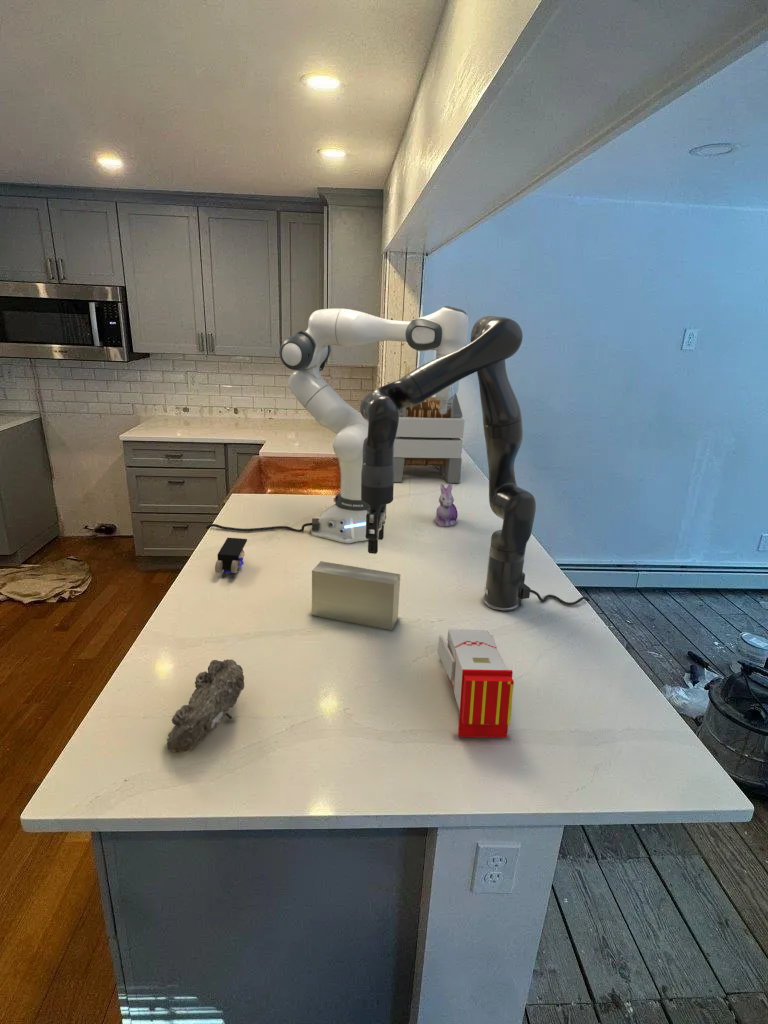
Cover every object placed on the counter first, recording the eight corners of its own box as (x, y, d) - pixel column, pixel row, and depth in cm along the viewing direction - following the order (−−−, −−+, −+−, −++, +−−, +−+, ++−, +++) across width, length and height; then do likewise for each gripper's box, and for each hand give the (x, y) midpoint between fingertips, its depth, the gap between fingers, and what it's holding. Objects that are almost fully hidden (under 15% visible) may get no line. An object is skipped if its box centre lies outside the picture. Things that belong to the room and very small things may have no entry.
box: (311, 615, 145) (311, 570, 141) (320, 604, 151) (320, 561, 146) (391, 630, 140) (394, 584, 136) (397, 618, 145) (400, 574, 141)
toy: (488, 613, 130) (523, 677, 101) (484, 667, 133) (517, 744, 104) (435, 612, 130) (455, 676, 101) (432, 666, 133) (451, 743, 103)
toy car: (238, 584, 162) (249, 557, 175) (236, 562, 158) (247, 536, 172) (215, 584, 161) (227, 556, 175) (212, 561, 158) (225, 535, 171)
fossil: (192, 660, 117) (244, 628, 112) (224, 691, 120) (276, 661, 115) (142, 746, 98) (202, 712, 93) (182, 779, 101) (242, 748, 96)
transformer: (382, 463, 289) (386, 382, 275) (445, 464, 293) (451, 384, 279) (390, 482, 257) (394, 392, 243) (460, 483, 261) (468, 394, 247)
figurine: (442, 528, 206) (446, 489, 201) (428, 519, 214) (431, 481, 209) (464, 525, 210) (468, 486, 205) (449, 516, 218) (452, 479, 213)
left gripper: (445, 361, 179) (441, 405, 183) (433, 366, 160) (429, 415, 165) (465, 362, 177) (461, 407, 182) (455, 368, 159) (450, 417, 163)
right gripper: (388, 492, 123) (386, 559, 129) (397, 474, 137) (395, 536, 142) (355, 489, 125) (354, 556, 130) (367, 471, 138) (366, 533, 143)
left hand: (445, 411), depth 173 cm, fingers open, 8 cm apart
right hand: (375, 545), depth 136 cm, fingers open, 8 cm apart
